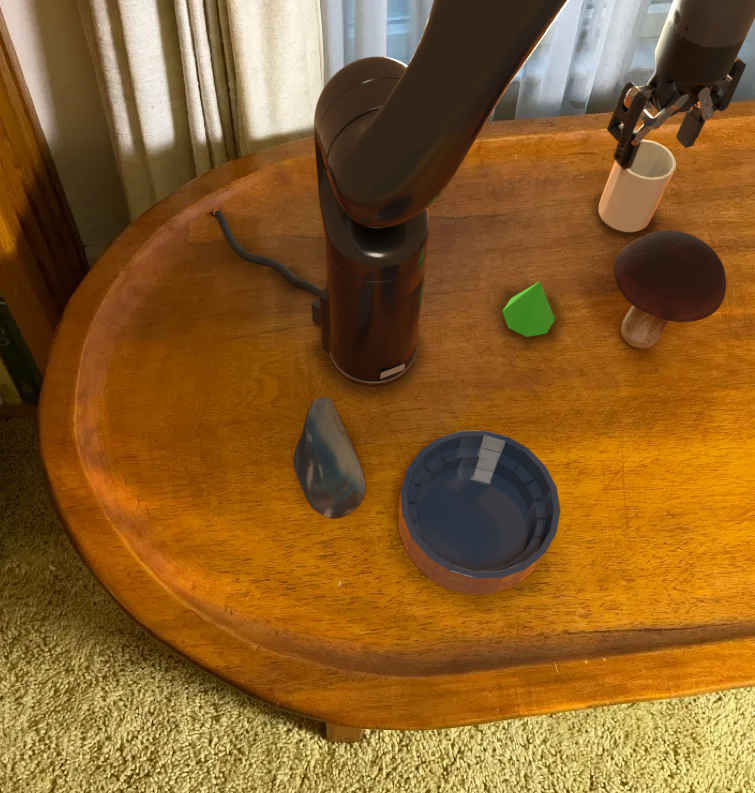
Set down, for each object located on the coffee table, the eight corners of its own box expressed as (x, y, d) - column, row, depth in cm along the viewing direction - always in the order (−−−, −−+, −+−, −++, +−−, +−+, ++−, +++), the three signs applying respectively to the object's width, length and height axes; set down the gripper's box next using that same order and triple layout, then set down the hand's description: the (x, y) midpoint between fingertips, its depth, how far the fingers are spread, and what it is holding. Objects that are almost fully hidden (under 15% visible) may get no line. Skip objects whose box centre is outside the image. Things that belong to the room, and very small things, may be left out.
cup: (589, 217, 94) (609, 163, 86) (611, 186, 97) (632, 132, 89) (637, 240, 92) (662, 187, 85) (659, 208, 95) (684, 154, 87)
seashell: (341, 531, 69) (386, 431, 68) (261, 486, 72) (303, 390, 71) (366, 525, 75) (408, 433, 74) (292, 484, 78) (331, 395, 77)
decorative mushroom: (678, 392, 81) (739, 306, 68) (576, 364, 82) (618, 274, 70) (690, 315, 86) (749, 221, 73) (594, 289, 88) (636, 193, 75)
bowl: (369, 541, 72) (370, 519, 67) (447, 431, 78) (453, 404, 73) (500, 627, 68) (511, 610, 63) (571, 505, 74) (586, 481, 69)
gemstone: (491, 309, 86) (499, 275, 81) (530, 286, 88) (541, 251, 83) (526, 346, 84) (537, 313, 78) (566, 320, 85) (579, 287, 80)
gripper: (672, 61, 69) (620, 194, 83) (794, 22, 72) (724, 156, 86) (624, 15, 72) (582, 150, 86) (743, -20, 75) (683, 115, 89)
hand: (653, 153), depth 86 cm, fingers open, 8 cm apart
